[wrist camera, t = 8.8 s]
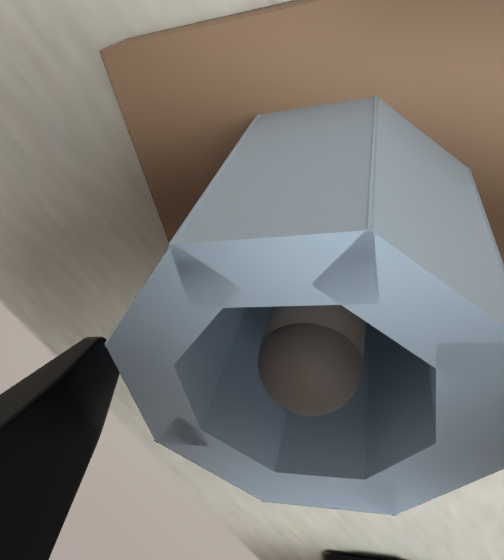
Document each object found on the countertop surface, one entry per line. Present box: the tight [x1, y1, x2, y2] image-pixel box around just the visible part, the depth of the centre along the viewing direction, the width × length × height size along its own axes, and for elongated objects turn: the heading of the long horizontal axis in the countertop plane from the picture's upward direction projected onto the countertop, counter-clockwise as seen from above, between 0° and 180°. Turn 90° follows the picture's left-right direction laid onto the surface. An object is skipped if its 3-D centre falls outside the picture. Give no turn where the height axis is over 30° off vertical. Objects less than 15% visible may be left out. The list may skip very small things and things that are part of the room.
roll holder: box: [100, 0, 504, 416], centre depth 11 cm, size 11×10×8 cm
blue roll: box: [105, 95, 504, 516], centre depth 11 cm, size 7×7×6 cm
